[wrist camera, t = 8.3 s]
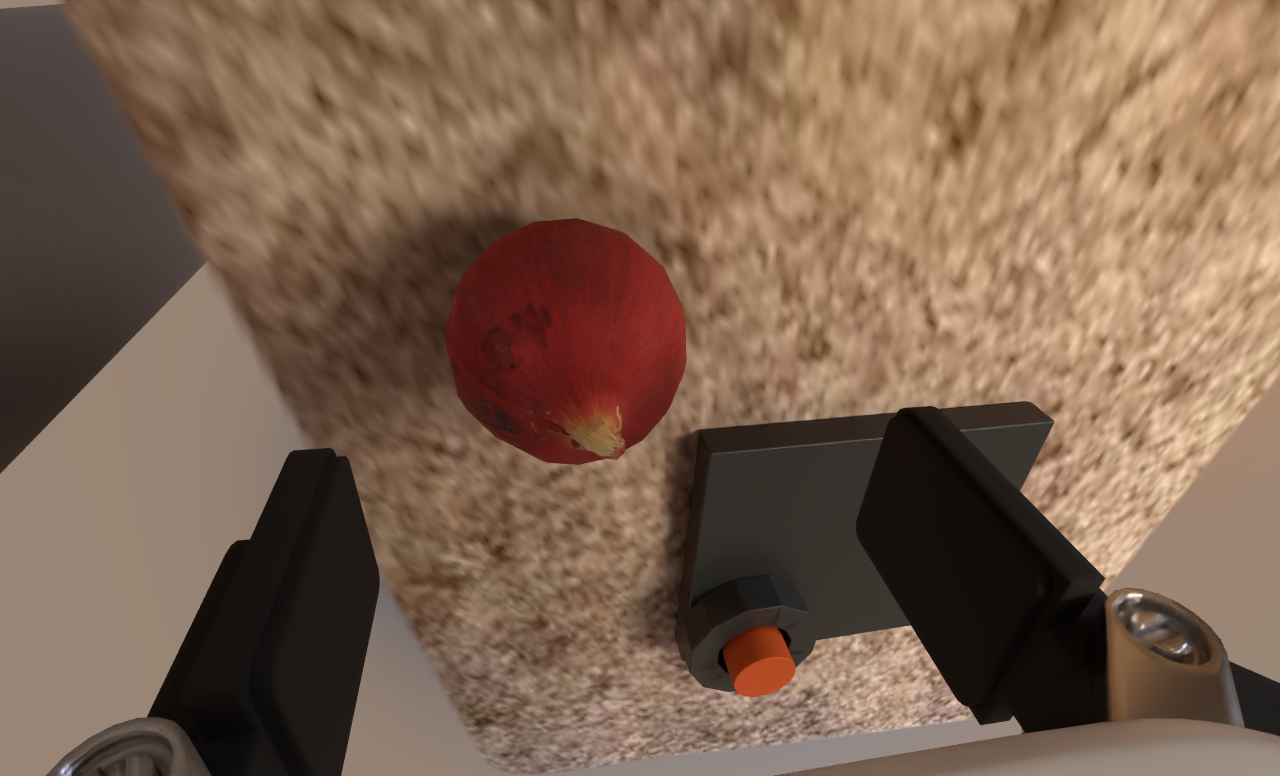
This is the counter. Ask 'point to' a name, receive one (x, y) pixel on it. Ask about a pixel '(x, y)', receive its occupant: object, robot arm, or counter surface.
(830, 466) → the scale
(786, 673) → the power button
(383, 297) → the counter surface
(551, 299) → the onion
